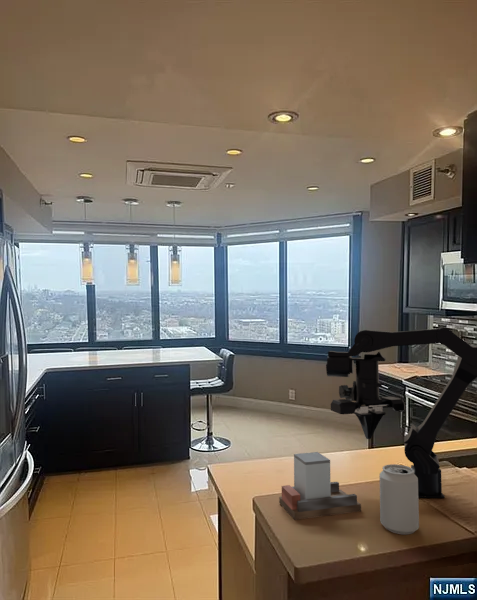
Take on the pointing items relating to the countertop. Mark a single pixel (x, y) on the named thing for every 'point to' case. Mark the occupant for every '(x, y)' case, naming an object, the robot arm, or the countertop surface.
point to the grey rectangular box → (312, 475)
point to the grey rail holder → (318, 503)
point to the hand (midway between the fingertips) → (368, 438)
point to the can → (399, 499)
